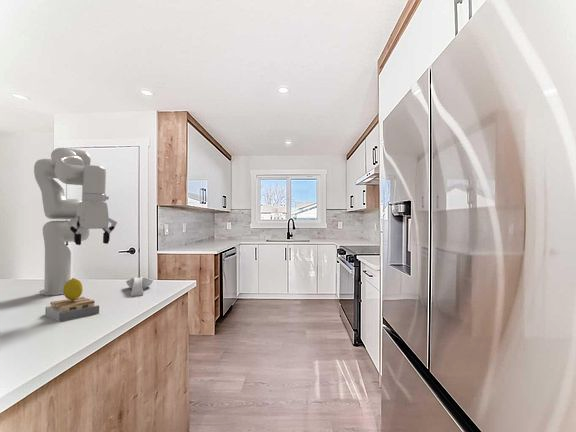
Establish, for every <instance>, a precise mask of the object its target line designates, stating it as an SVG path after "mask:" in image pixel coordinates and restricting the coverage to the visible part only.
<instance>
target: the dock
mask: <svg viewBox="0 0 576 432" xmlns="http://www.w3.org/2000/svg"><path fill="white" fill-rule="evenodd" d="M44 311H45V312H44V313H45V315H46V316H47V317H49V318H51V319H54V320H56V321H57V322H64V321H69V320H74V319H78V318H82V317H86V316H87V317H88V316H93V315H97V314H100V305H98V304H95V303H94V306H92V307H86V306H83V305H82V309H77V310H76V309H73V308H70V311H67V312H62V311H59V310H57V309H55V308H52V307H51V305H50V306H45V310H44Z"/></svg>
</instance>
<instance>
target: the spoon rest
mask: <svg viewBox="0 0 576 432" xmlns="http://www.w3.org/2000/svg"><path fill="white" fill-rule="evenodd" d="M153 282H154V279H152V278H151V279H150V278H147V277H144V276H141V277H132V278H130V279H128V280H126V281H125V283H126V285H127V286H128V287H130V288H131V296H132V297H139V296H144V289H147V288H148V287H150V286H151V285H152V284H153Z"/></svg>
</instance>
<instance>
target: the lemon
mask: <svg viewBox="0 0 576 432" xmlns="http://www.w3.org/2000/svg"><path fill="white" fill-rule="evenodd" d="M82 294H83V284H82V282H81V281H80V280H78V279H77V278H74V277H73V278H71V280H69V281H67V282H66V284H65V286H64V294H63V296H64V297H65V298H66V299H70V300H71V301H74V300H75V299H77V298H79V297H82Z"/></svg>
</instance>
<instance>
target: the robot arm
mask: <svg viewBox="0 0 576 432" xmlns="http://www.w3.org/2000/svg"><path fill="white" fill-rule="evenodd" d="M106 174H107V170H106V168H105V167H104V166H100V165H95V164H94V165H93V164H92V165H91V156H90V154H89V153H88V152H86V151H85V150H81V149H75V148H68V147H58V148H55V149H53V150H52V152H51V153H50V158H40V159H38V160H36V162H35V163H34V166H33V175H34V179H35V182H36V184H37V185H38V187H39V189H40V192H41V197H42V198H41V199H42V207H43V213H44V216H45V217H46V218H47V219H49V220H50V221H47V222H45V223H44V225H43V226H42V236H43V241H44V242H43V243H44V285H43V289H42V290H40V291H39V294H40V295H41V296H59V295H64V286H65V284H66V282H67V281H69V280H71V279H72V278H71V274H72V271H71V270H72V252H71V249H70V248H69V246H68V245H67V244H66V243H72V242H74V243H75V245H77V246H81V244H82V242H83V241H86V240H88V238H89V236H90V230H91V229H92V230H93V229H95V230H97V229H98V230H99V229H102V231H103V233H102V234H103V236H102V243H103V244H107V245H109V242H110V241H111V240H110V235H111V233H112V231H114V229H116V226H117V224H118V221H116V220H114V219H112V218H110V217H109V208H108V204H107V202H106V201H109V200H110V198H109V196H107V194H106V182H107V181H106V177H107V175H106ZM55 179H58V180H59V181H60V182H62V184H65V185H73V186H74V185H75V186H82V187H81V188H82V189H81V190H82V192H81V193H82V194H81V199H75V198H66V195H65V189H64V188H63V187H62V185H61V184H60V183H59V182H58V181H56V180H55ZM109 225H110V226H109Z"/></svg>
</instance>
